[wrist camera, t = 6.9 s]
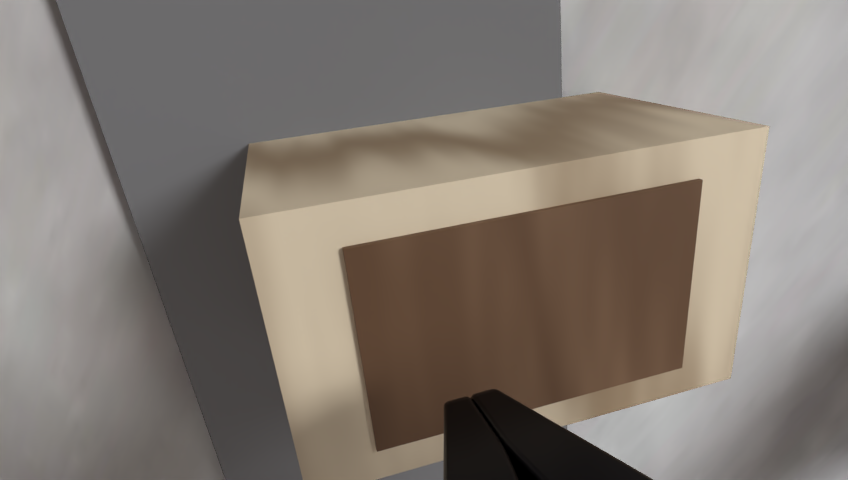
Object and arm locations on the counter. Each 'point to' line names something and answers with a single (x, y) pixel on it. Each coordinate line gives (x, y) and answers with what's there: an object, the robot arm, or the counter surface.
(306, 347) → the birch block
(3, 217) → the counter surface
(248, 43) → the rubber mat
